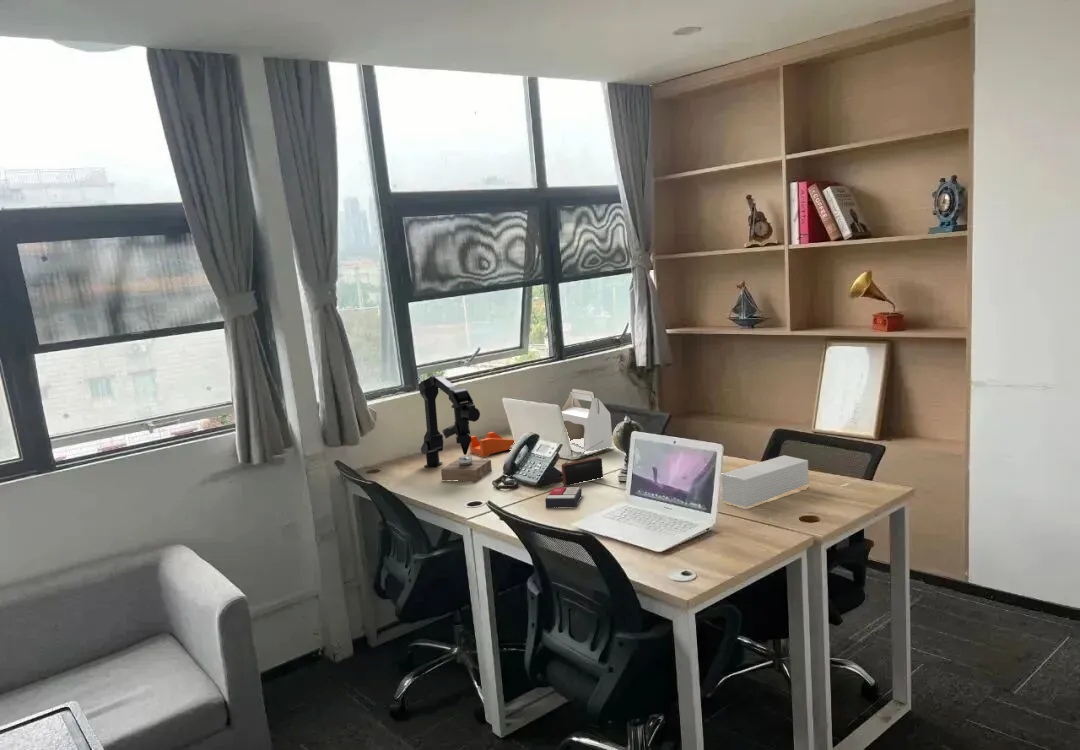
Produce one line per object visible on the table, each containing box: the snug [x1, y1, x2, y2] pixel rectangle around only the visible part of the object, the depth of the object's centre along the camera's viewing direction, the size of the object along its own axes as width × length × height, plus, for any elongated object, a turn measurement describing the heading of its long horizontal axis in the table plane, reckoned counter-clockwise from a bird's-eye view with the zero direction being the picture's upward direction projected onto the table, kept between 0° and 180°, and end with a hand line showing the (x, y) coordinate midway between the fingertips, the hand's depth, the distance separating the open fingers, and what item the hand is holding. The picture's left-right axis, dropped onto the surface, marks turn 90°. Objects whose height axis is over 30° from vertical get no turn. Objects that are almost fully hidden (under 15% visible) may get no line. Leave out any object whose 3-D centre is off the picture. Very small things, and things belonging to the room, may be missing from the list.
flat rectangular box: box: [544, 486, 583, 509], centre depth 285 cm, size 11×4×15 cm
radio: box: [561, 441, 604, 486], centre depth 307 cm, size 19×3×15 cm, turn 114°
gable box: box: [560, 388, 614, 451], centre depth 357 cm, size 22×13×28 cm, turn 34°
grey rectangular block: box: [721, 454, 810, 507], centre depth 272 cm, size 32×11×11 cm, turn 122°
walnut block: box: [440, 458, 492, 482], centre depth 330 cm, size 16×16×5 cm
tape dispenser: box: [469, 431, 515, 458], centre depth 370 cm, size 18×13×8 cm
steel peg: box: [458, 455, 473, 466], centre depth 330 cm, size 6×6×8 cm
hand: (465, 454), depth 329 cm, fingers closed
